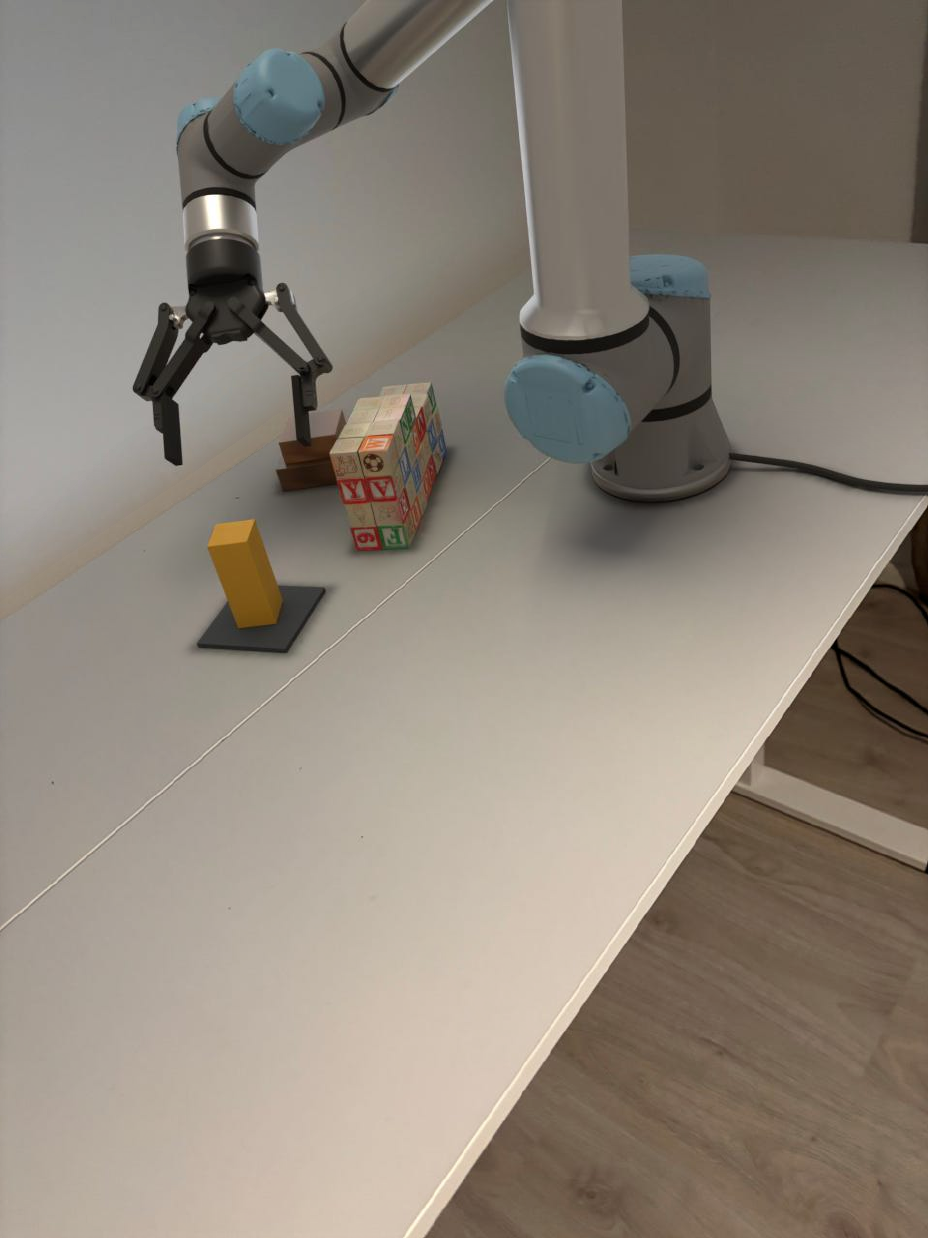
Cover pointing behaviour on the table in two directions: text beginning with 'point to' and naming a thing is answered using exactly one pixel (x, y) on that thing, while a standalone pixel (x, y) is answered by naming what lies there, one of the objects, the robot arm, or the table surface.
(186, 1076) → the table surface
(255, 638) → the mat
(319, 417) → the dark wooden step block
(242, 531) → the bar
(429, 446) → the stack of blocks
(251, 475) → the table surface
